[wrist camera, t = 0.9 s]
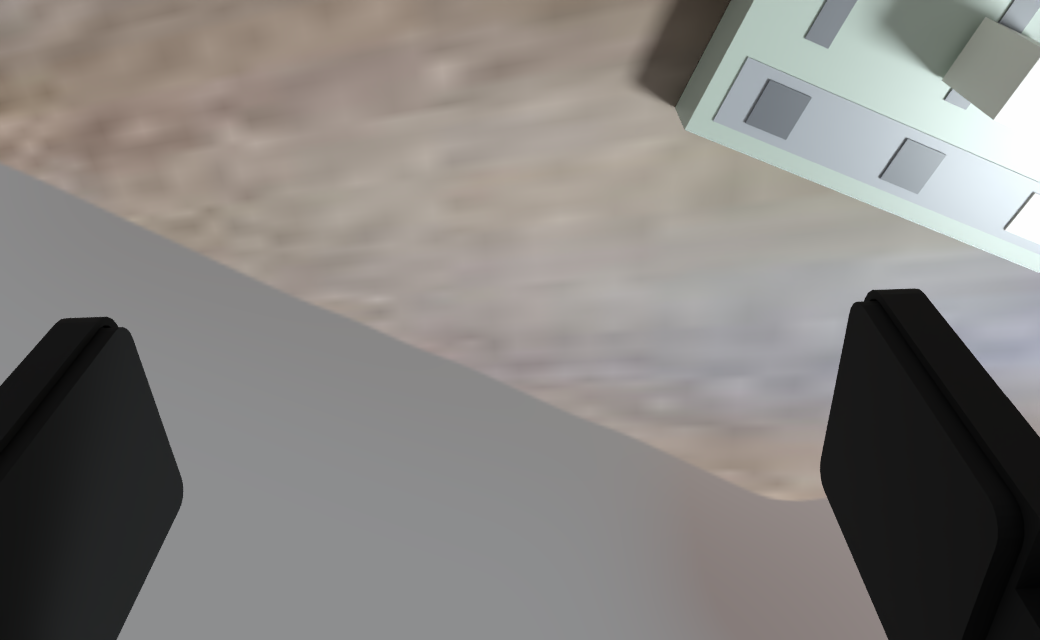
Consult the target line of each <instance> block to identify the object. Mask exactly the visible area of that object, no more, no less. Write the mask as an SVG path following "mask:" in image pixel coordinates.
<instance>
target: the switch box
mask: <svg viewBox="0 0 1040 640" xmlns="http://www.w3.org/2000/svg"><path fill="white" fill-rule="evenodd" d="M985 17H987V18H989V19H991V20H993V21H996V22H998V23H1000V24H1002V25H1004V26H1006V27H1008V28H1010V29H1012V30H1015V31H1017V32H1019V33H1021V34H1023V35H1025V36H1027V37H1029V38H1031V39H1034V40H1036V41H1038V42H1040V0H731V1H730V3H729V5H728V7H727V9H726V11H725V13H724V15H723V17H722V19H721V20H720V22H719V24H718V26H717V28H716V30H715V32H714V34H713V36H712V38H711V40H710V42H709V44H708V45H707V47H706V49H705V51H704V53H703V55H702V57H701V59H700V61H699V63H698V65H697V67H696V69H695V70H694V72H693V74H692V76H691V78H690V80H689V82H688V84H687V86H686V88H685V90H684V92H683V94H682V95H681V97H680V99H679V101H678V103H677V105H676V107H675V109H676V111H677V113H678V116H679V118H680V120H681V123H682V125H683V127H684V129H685V130H686V131H689V132H691V133H694V134H696V135H699V136H701V137H704V138H706V139H709V140H711V141H714V142H716V143H719V144H721V145H724V146H726V147H728V148H731V149H733V150H736V151H738V152H741V153H743V154H746V155H748V156H751V157H753V158H756V159H758V160H761V161H763V162H766V163H768V164H771V165H773V166H776V167H778V168H781V169H783V170H786V171H788V172H790V173H793V174H795V175H798V176H800V177H803V178H805V179H808V180H810V181H813V182H815V183H818V184H820V185H823V186H825V187H828V188H830V189H833V190H835V191H838V192H840V193H843V194H845V195H847V196H850V197H852V198H855V199H857V200H860V201H862V202H865V203H867V204H870V205H872V206H875V207H877V208H880V209H882V210H885V211H887V212H890V213H892V214H895V215H897V216H900V217H902V218H905V219H907V220H909V221H912V222H914V223H917V224H919V225H922V226H924V227H927V228H929V229H932V230H934V231H937V232H939V233H942V234H944V235H947V236H949V237H952V238H954V239H957V240H959V241H962V242H964V243H967V244H969V245H971V246H974V247H976V248H979V249H981V250H984V251H986V252H989V253H991V254H994V255H996V256H999V257H1001V258H1004V259H1006V260H1009V261H1011V262H1014V263H1016V264H1019V265H1021V266H1024V267H1026V268H1029V269H1031V270H1033V271H1036V272H1038V273H1040V141H1039V140H1037V139H1035V138H1033V137H1030V136H1028V135H1026V134H1024V133H1021V132H1019V131H1017V130H1015V129H1012V128H1010V127H1008V126H1006V125H1003V124H1001V123H999V122H997V121H994V120H993V119H991V118H990V117H989V116H987V115H986V114H985V113H983V112H982V111H981V110H980V109H978V108H977V107H976V106H974V105H973V104H972V103H970V102H969V101H968V100H966V99H965V98H964V97H963V96H961V95H960V94H959V93H957V92H956V91H955V90H953V89H952V88H951V87H949V86H948V85H947V84H945V83H944V82H943V81H942V79H943V78H944V76H945V75H946V73H947V72H948V70H949V69H950V67H951V66H952V65H953V63H954V62H955V60H956V59H957V57H958V56H959V54H960V53H961V52H962V50H963V49H964V47H965V46H966V44H967V43H968V41H969V40H970V39H971V37H972V36H973V34H974V33H975V31H976V30H977V28H978V27H979V25H980V24H981V23H982V21H983V20H984V18H985Z"/></svg>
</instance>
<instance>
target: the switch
mask: <svg viewBox="0 0 1040 640" xmlns="http://www.w3.org/2000/svg"><path fill="white" fill-rule="evenodd" d="M942 81H943V82H944V83H945V84H947V85H948V86H949V87H951V88H952V89H953V90H955V91H956V92H957V93H959V94H960V95H961V96H963V97H964V98H965V99H966V100H968V101H969V102H970V103H972V104H973V105H974V106H976V107H977V108H978V109H980V110H981V111H982V112H983V113H985V114H986V115H987V116H989V117H990V118H991V119H993V120H994V121H997V122H999V123H1001V124H1003V125H1006V126H1008V127H1010V128H1012V129H1015V130H1017V131H1019V132H1021V133H1024V134H1026V135H1028V136H1030V137H1033V138H1035V139H1037V140H1039V141H1040V42H1038V41H1036V40H1034V39H1031V38H1029V37H1027V36H1025V35H1023V34H1021V33H1019V32H1017V31H1015V30H1012V29H1010V28H1008V27H1006V26H1004V25H1002V24H1000V23H998V22H996V21H993V20H991V19H989V18H987V17H985V18H984V20H983V21H982V23H981V24H980V25H979V27H978V28H977V30H976V31H975V33H974V34H973V36H972V37H971V39H970V40H969V41H968V43H967V44H966V46H965V47H964V49H963V50H962V52H961V53H960V54H959V56H958V57H957V59H956V60H955V62H954V63H953V65H952V66H951V67H950V69H949V70H948V72H947V73H946V75H945V76H944V78H943V79H942Z"/></svg>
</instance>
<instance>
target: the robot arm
mask: <svg viewBox="0 0 1040 640" xmlns="http://www.w3.org/2000/svg"><path fill="white" fill-rule="evenodd" d="M820 474H821V481H822V485H823V488H824V491H825V493H826V496H827V498H828V500H829V503H830V505H831V507H832V509H833V512H834V514H835V517H836V519H837V521H838V524H839V526H840V528H841V531H842V533H843V535H844V537H845V540H846V542H847V544H848V547H849V549H850V551H851V554H852V556H853V558H854V561H855V563H856V565H857V568H858V570H859V572H860V575H861V577H862V579H863V582H864V584H865V586H866V589H867V591H868V593H869V596H870V598H871V600H872V603H873V605H874V607H875V609H876V612H877V614H878V616H879V619H880V621H881V623H882V625H883V628H884V630H885V633H886V635H887V637H888V640H1040V437H1039V436H1038V435H1037V433H1036V432H1035V431H1034V430H1033V428H1032V427H1031V426H1030V425H1029V423H1028V422H1027V421H1026V420H1025V418H1024V417H1023V416H1022V415H1021V413H1020V412H1019V411H1018V410H1017V408H1016V407H1015V406H1014V405H1013V403H1012V402H1011V401H1010V400H1009V398H1008V397H1006V395H1005V394H1004V393H1003V392H1002V390H1001V389H1000V388H999V387H998V385H997V384H996V383H995V382H994V380H993V379H992V378H991V376H990V375H989V374H988V373H987V371H986V370H985V369H984V368H983V366H982V365H981V364H980V363H979V361H978V360H977V359H976V358H975V356H974V355H973V354H972V353H971V351H970V350H969V349H968V348H967V346H966V345H965V344H964V343H963V341H962V340H961V339H960V338H959V336H958V335H957V334H956V333H955V331H954V330H953V329H952V328H951V326H950V325H949V324H948V323H947V321H946V320H945V319H944V318H943V316H942V315H941V314H940V313H939V311H938V310H937V309H936V308H935V306H934V305H933V304H932V303H931V301H930V300H929V299H928V298H927V296H926V295H925V294H924V293H923V292H922V291H921V290H920V289H890V290H872V291H870V292H869V293H868V294H867V296H866V298H865V300H864V302H855V303H854V304H853V305H852V307H851V310H850V313H849V318H848V323H847V328H846V334H845V339H844V344H843V349H842V354H841V359H840V364H839V369H838V374H837V379H836V385H835V390H834V395H833V400H832V405H831V410H830V415H829V420H828V425H827V430H826V436H825V441H824V446H823V451H822V456H821V462H820ZM182 498H183V483H182V478H181V475H180V472H179V470H178V467H177V464H176V461H175V458H174V455H173V452H172V450H171V447H170V445H169V441H168V438H167V435H166V432H165V429H164V426H163V424H162V421H161V418H160V415H159V412H158V409H157V406H156V404H155V401H154V398H153V395H152V392H151V389H150V387H149V384H148V381H147V378H146V375H145V372H144V369H143V366H142V363H141V361H140V358H139V355H138V352H137V349H136V346H135V343H134V340H133V338H132V336H131V333H130V332H129V331H128V330H127V329H126V328H123V327H118V326H117V324H116V323H115V322H114V320H113V319H111V318H108V317H91V318H66V319H61V320H60V321H58V322H57V323H56V324H55V325H54V326H53V327H52V328H51V329H50V330H49V332H48V333H47V334H46V335H45V336H44V337H43V338H42V340H41V341H40V342H39V343H38V344H37V345H36V346H35V348H34V349H33V350H32V351H31V352H30V353H29V354H28V355H27V356H26V358H25V359H24V360H23V361H22V362H21V363H20V365H18V367H17V368H16V369H15V370H14V371H13V372H12V373H11V375H10V376H9V377H8V378H7V379H6V380H5V381H4V382H3V384H2V385H1V386H0V640H116V639H117V637H118V635H119V633H120V631H121V629H122V627H123V625H124V623H125V621H126V619H127V617H128V615H129V613H130V610H131V608H132V606H133V604H134V602H135V600H136V598H137V596H138V594H139V592H140V590H141V588H142V586H143V584H144V581H145V579H146V577H147V575H148V573H149V571H150V569H151V567H152V565H153V563H154V561H155V559H156V557H157V554H158V552H159V550H160V548H161V546H162V544H163V542H164V540H165V538H166V536H167V534H168V531H169V530H170V528H171V525H172V523H173V521H174V519H175V517H176V515H177V513H178V511H179V509H180V506H181V503H182Z"/></svg>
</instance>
